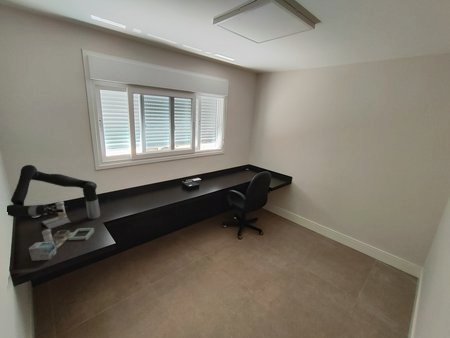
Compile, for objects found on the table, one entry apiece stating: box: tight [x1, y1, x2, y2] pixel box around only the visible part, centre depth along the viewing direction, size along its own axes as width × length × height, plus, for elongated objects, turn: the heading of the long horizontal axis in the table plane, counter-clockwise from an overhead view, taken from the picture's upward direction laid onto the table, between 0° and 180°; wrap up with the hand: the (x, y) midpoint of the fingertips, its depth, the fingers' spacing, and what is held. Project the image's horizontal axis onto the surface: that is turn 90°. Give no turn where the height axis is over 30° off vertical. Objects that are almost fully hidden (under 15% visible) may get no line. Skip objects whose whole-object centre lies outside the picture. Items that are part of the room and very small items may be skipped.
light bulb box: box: [28, 241, 57, 262], centre depth 128 cm, size 11×7×11 cm, turn 100°
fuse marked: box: [54, 200, 68, 220], centre depth 145 cm, size 5×5×13 cm
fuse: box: [41, 228, 53, 242], centre depth 136 cm, size 5×5×13 cm
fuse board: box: [52, 229, 75, 251], centre depth 144 cm, size 21×12×4 cm, turn 9°
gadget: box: [41, 216, 71, 230], centre depth 168 cm, size 23×15×4 cm, turn 55°
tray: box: [67, 227, 95, 242], centre depth 153 cm, size 12×12×4 cm
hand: (65, 209), depth 145 cm, fingers closed on fuse marked, 4 cm apart
